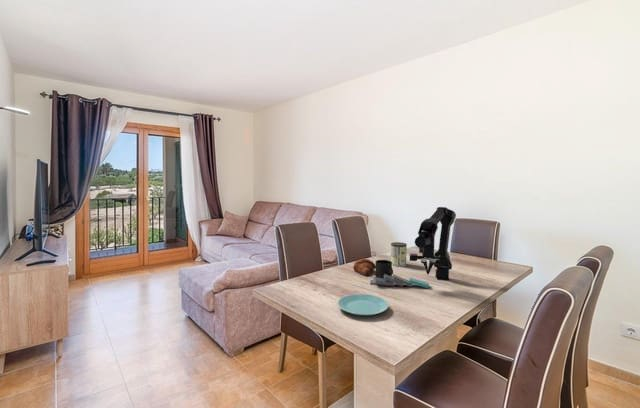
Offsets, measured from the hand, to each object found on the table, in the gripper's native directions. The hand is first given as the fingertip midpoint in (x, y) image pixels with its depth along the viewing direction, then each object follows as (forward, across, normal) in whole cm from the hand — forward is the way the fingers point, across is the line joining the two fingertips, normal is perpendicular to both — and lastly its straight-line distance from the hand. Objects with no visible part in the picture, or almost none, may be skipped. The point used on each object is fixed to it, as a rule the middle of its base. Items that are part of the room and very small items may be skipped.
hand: (427, 274), depth 161 cm
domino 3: (+6, +13, +1) cm, 14 cm away
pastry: (+8, +36, -21) cm, 43 cm away
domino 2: (+6, +18, +2) cm, 19 cm away
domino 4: (+6, +8, 0) cm, 10 cm away
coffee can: (+7, +16, -42) cm, 45 cm away
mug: (+7, +22, -11) cm, 26 cm away
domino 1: (+7, +20, 0) cm, 21 cm away
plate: (+7, +30, +36) cm, 47 cm away
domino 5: (+6, 0, 0) cm, 6 cm away
